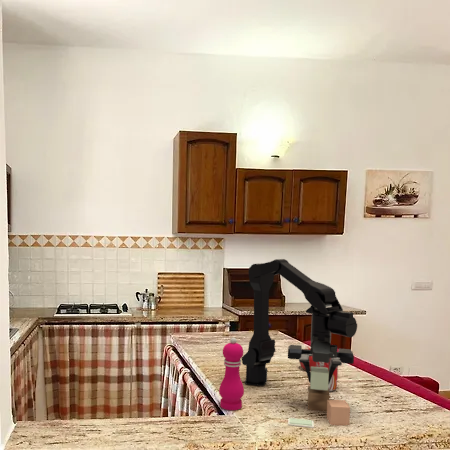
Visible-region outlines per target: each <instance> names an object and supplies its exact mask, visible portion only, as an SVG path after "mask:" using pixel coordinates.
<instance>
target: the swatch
mask: <svg viewBox="0 0 450 450" xmlns="http://www.w3.org/2000/svg"><path fill="white" fill-rule="evenodd" d="M287 426H292V427H294V426H295V427H304V428H310V429H313V428H315V423H314V420H313V419H312V420H311V419H304V418H295V417H289V418H288V419H287Z"/></svg>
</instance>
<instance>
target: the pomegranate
mask: <svg viewBox="0 0 450 450" xmlns="http://www.w3.org/2000/svg"><path fill="white" fill-rule="evenodd" d="M306 349H308V350H310V349H311V347H309V346H306ZM309 363H310V372H311V367H316V362H314V361H313V360H312V356H309ZM299 366H300V367H301V368H302V369H303V370H304V371H306V369H305V367H304V364H303V363H302V362H299Z"/></svg>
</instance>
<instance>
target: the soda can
mask: <svg viewBox="0 0 450 450" xmlns="http://www.w3.org/2000/svg"><path fill="white" fill-rule="evenodd" d="M329 364H330V362H329V363H324V362H316V367H323V368H328V371H329ZM338 372H339V366H337V368H336V369H335V371H334V373H333V375H332V378H331V380H330V383H329V384H328V388H329V393H330V392H333V391H334V390H336V389H337V388H338V377H339V374H338Z"/></svg>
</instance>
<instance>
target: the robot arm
mask: <svg viewBox="0 0 450 450" xmlns="http://www.w3.org/2000/svg"><path fill="white" fill-rule="evenodd" d="M277 275H279V276H281V277H282V278H284V279H285V280H286V281H288V282H289V283H290V284H292V286H295V288H297V289H298V290H299V291H301V292H302V294H303V296H304V299H305V301H307V302H308V303H309V304H310V307H308V308H307V309H306V310H305V312H306V313H307V314H311V330H310V331H311V332H310V350H308V348H302V345H299V344H289V346H288V348H287V359H290V360H298V362H299V363H300V362H302V363H303V364H304V367H305V369H306V370H305V369H304V370H305V373H306V375H307V379H308V382H309V384H310V381H311V374H310V373H311V371H310V363H309V356H312V360H313V361H314V362H324V363H329V362H330V364H329V371H328V372H329V379H328V384H329V383H330V380H331V378H332V375H333V373H334V371H335V369H336V368H337V366H338V367H339V366H342V365H343V364H347V365H348V364H349V365H353V364H354V362H355V360H354V359H355V357H354V356H355V354H354V352H353V351H352V349H351V348H350V349H349V348H338V345H337V344H332V343H331V341H332V334H334V335H339V336H343V337H346V338H353V337H354V336H355V335H356V333H357V330H358V323H357V319H356V318H355V317H354V312H353V311H344V309H343V307H342V306H341V303H340V301H339V300H338V298H337V296H336V291H335V289H333V287H331V286H329V285H327V284H324V283H321V282H319V281H318V282H317V281H315V280H313V279H311V278H310V277H308V276H307V275H306V274H305V273H303V272H302V271H300V270H299V269H298V268H297V267H295V266H294V265H292V264H291V263H289V261H288V260H287V259H285V258H281V259H280V258H278V259H274V260H271V261H267V262H264V263H262V262H261V263H253V264H251V266H249V268H248V279H249V280H248V281H249V284H250V286H251V288H252V289H253V334H252V336H251V338H250V340H249V342H248V349H247V352H246V353H245V354H243V356H242V357H241V359H240V360H241V365H243V366H245V367H246V368H245V381H244V384H245V385H249V386H262V387H264V386H266V383H267V381H268V367H267V364H270V363H271V360H272V358H273V357H274V356H275V355H274V354H275V353H276V340H275V339H272V338H271V336H270V331H269V329H270V327H269V325H270V321H269V319H270V317H269V316H270V311H269V310H270V304H269V303H270V302H269V301H270V289H271V287H272V285H273V283H274V280H275V279H274V278H275V276H277Z"/></svg>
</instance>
